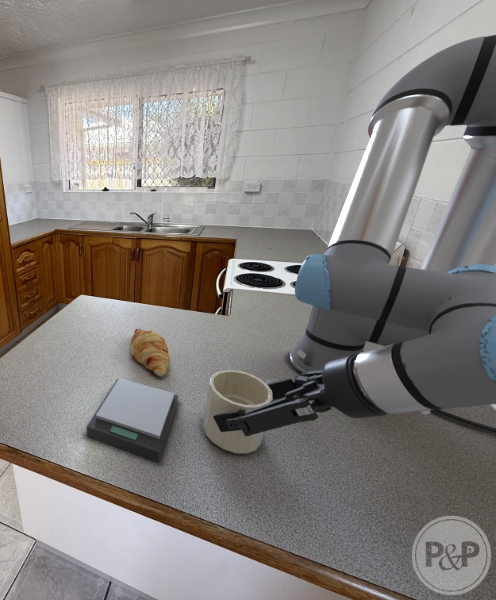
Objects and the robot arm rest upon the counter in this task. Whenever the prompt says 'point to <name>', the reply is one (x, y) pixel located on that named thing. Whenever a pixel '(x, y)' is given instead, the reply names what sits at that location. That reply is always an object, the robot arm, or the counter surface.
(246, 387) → the cream cylinder cup
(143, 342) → the croissant
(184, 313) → the counter surface
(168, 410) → the scale
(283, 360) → the counter surface
